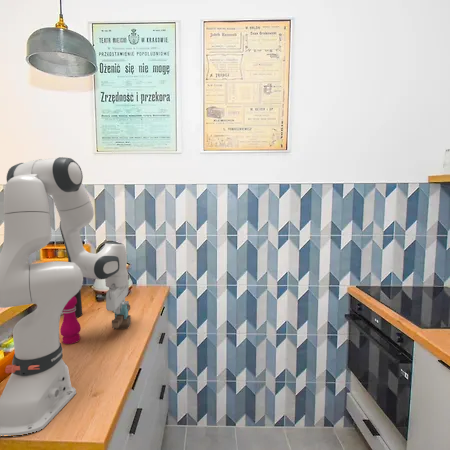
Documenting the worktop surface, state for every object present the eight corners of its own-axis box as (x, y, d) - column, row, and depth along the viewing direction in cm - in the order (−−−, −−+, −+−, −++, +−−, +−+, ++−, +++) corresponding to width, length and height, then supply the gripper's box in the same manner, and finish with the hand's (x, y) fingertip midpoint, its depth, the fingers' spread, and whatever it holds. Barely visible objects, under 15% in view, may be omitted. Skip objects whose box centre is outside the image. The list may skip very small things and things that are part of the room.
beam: (123, 337, 127) (122, 318, 126) (108, 337, 127) (107, 318, 126) (134, 316, 147) (133, 300, 146) (121, 317, 147) (120, 300, 146)
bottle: (85, 315, 150) (82, 274, 147) (70, 320, 145) (67, 277, 142) (78, 311, 154) (75, 271, 152) (64, 316, 149) (60, 275, 147)
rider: (125, 319, 134) (125, 307, 134) (114, 319, 134) (114, 308, 133) (128, 315, 138) (127, 304, 137) (117, 315, 138) (116, 304, 137)
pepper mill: (73, 345, 121) (69, 295, 118) (56, 344, 122) (52, 294, 120) (85, 336, 128) (81, 289, 125) (69, 335, 129) (65, 288, 127)
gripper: (117, 288, 120) (119, 323, 122) (130, 273, 141) (132, 303, 142) (100, 288, 120) (102, 323, 122) (116, 274, 140) (117, 303, 142)
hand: (118, 312), depth 132 cm, fingers closed
